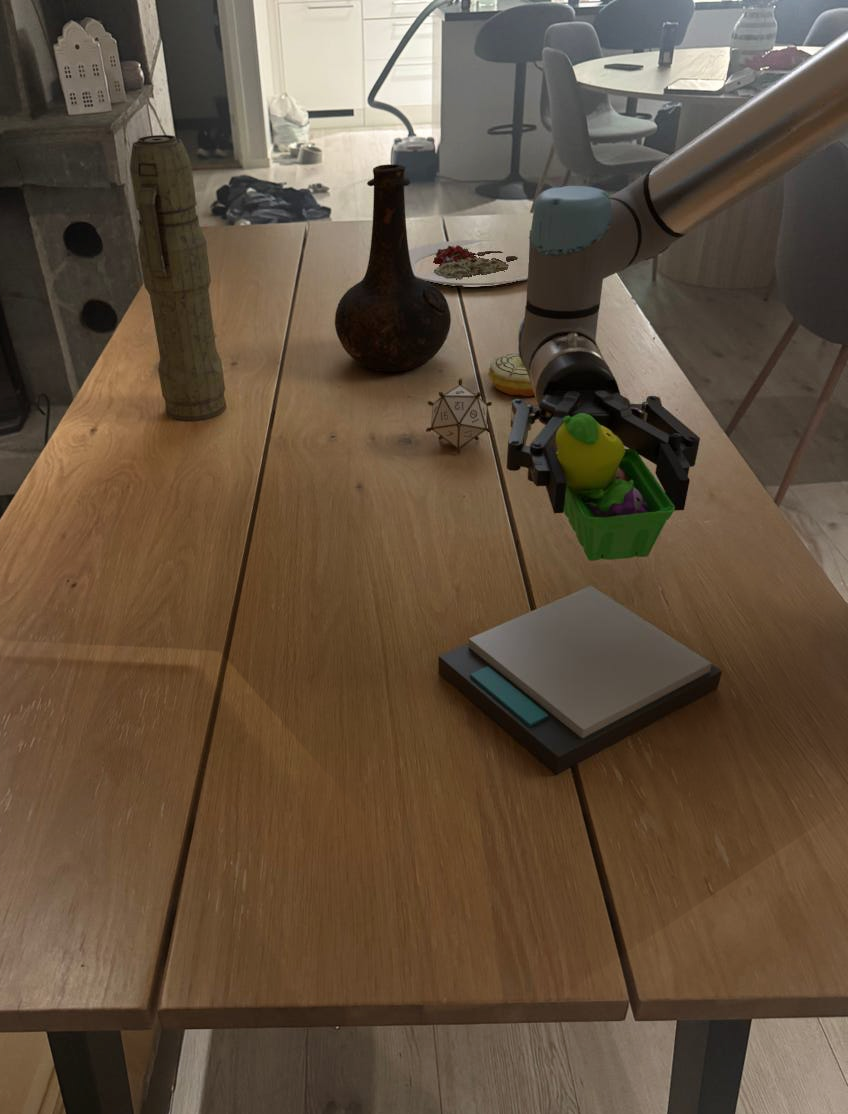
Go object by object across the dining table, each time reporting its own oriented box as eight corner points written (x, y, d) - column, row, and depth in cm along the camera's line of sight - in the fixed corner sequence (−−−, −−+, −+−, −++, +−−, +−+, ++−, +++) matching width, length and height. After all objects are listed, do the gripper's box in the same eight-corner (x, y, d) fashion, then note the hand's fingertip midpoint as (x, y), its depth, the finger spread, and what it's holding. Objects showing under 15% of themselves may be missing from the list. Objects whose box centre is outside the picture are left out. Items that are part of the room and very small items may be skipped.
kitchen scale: (718, 688, 85) (724, 661, 83) (556, 775, 77) (559, 747, 75) (591, 604, 96) (594, 579, 94) (438, 673, 88) (438, 647, 86)
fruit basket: (669, 564, 79) (693, 438, 72) (563, 572, 79) (578, 445, 72) (626, 498, 88) (644, 380, 81) (531, 505, 88) (541, 386, 81)
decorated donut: (572, 395, 138) (575, 370, 135) (501, 403, 136) (502, 377, 134) (548, 369, 146) (550, 345, 144) (480, 376, 144) (481, 351, 142)
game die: (451, 464, 130) (454, 390, 130) (505, 457, 124) (507, 380, 124) (410, 452, 123) (413, 375, 123) (464, 445, 117) (467, 363, 117)
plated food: (507, 302, 172) (508, 283, 170) (367, 280, 185) (367, 262, 183) (574, 260, 192) (576, 243, 190) (444, 242, 205) (444, 226, 203)
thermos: (154, 425, 134) (105, 148, 113) (177, 392, 143) (136, 130, 122) (216, 426, 133) (178, 147, 112) (235, 393, 142) (203, 129, 121)
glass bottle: (418, 391, 141) (418, 184, 124) (315, 371, 148) (302, 174, 131) (468, 351, 153) (475, 158, 136) (371, 335, 160) (365, 150, 144)
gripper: (464, 352, 92) (486, 457, 74) (690, 346, 92) (769, 450, 74) (461, 424, 97) (482, 540, 79) (677, 419, 96) (748, 534, 78)
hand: (621, 496), depth 76 cm, fingers closed on fruit basket, 9 cm apart
